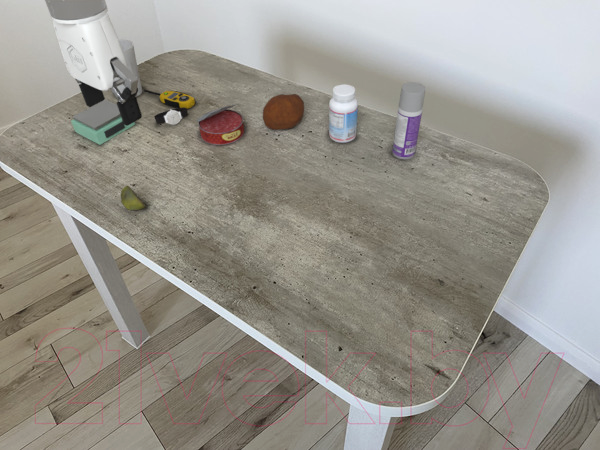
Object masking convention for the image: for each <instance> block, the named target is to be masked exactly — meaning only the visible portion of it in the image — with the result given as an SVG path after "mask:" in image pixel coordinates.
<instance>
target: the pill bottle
mask: <svg viewBox="0 0 600 450" xmlns="http://www.w3.org/2000/svg"><path fill="white" fill-rule="evenodd" d="M358 111H359V102H358V100H357V98H356V88H355V87H354V86H353V85H352V84H351V85H350V84H342V83H341V84H337V85H335V86H334V87H333V88H332V97H331V98H330V100H329V102H328V136H329V138H330V139H331V140H332V141H333V142H336V143H339V144H341V143H342V144H343V143H350V142H352V141H354V140H355V139H356V136H357V128H358V126H357V125H358V113H359V112H358Z"/></svg>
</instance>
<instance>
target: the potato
mask: <svg viewBox="0 0 600 450" xmlns="http://www.w3.org/2000/svg"><path fill="white" fill-rule="evenodd" d="M304 113H305V102H304V100H303V99H302V97H301V96H300V95H299V94H296V93H291V94H283V93H282V94H277V95H274V96H272V97H271V98H270V99H269V100H268V101H267V102H266V103H265V105H264V107H263V109H262V120H263V123H264V125H265V127H267V128H268V129H271V130H274V131H280V130H290V129H292V128H294V127H296V126H297V125H298V124H299V123H300V122H301V121H302V119H303V117H304Z"/></svg>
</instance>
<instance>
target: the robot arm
mask: <svg viewBox="0 0 600 450" xmlns="http://www.w3.org/2000/svg"><path fill="white" fill-rule="evenodd" d="M44 2H45V4H46V7H47V10H48V12H49V15H50V17H51V21H52V26H53V31H54V34H55V37H56V40H57V43H58V47H59V50H60V53H61V55H62V58H63V61H64V64H65V67H66V69H67V72H68V74H69V75H70V76H71V77H72V78H74V80H75V82H76V83H77V84H78V87H79V90H80V92H81V95H82V97H83V101H84V102H85V105H86V106H87V108H90V107H92V106H94V105H96V104H98V103H100V102H102V101H104V100H106V98H105V95H104V93H103V92H108V91H109V90H110V91H111V92H112V94H113V95H114V97H115V98H116V99H117V102H116V105H117V106H118V109H119V112H120V115H121V118H122V121H123V124H124V125H126V126H128V125H130V124H132V123H133V122H135V123H136V122H137V121H139V120H140V119H141V118H142V117H143V114H142V112H141V109H140V105H139V102H138V99H137V97H138V96H137V92H138V88H137V87H138V79H137V77H136V76H135V75H134V74H133V73H132V72H131V71H130V70H129V69H128V66H127V63H126V60H125V56H124V53H123V51H122V48H121V45H120V42H119V38H118V35H117V32H116V29H115V28H114V25H113V22H112V20H111V18H110V17H109V14H108V11H109V9H108V6H107V3H106V0H44ZM116 77H117V78H119V80H117V81H115V82H113V79H114V78H116ZM121 84H123V85H124V86H125V89H124V90H123V92H122V94H121V92H120V91H119V89H118V88H117V86H119V85H121Z"/></svg>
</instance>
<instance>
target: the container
mask: <svg viewBox="0 0 600 450" xmlns="http://www.w3.org/2000/svg"><path fill="white" fill-rule="evenodd" d="M425 95H426V86H425V85H424V84H423V83H420V82H416V81H408V82H405V83H403V84H402V85H401V89H400V94H399V100H398V107H397V114H396V122H395V127H394V135H393V142H392V150H391V153H392V155H393V156H394V157H395V158H397V159H399V160H410V159H412V158H414V156H415V155H416V148H417V143H418V137H419V132H420V126H421V121H422V115H423V110H424V109H423V108H424V102H425Z"/></svg>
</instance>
